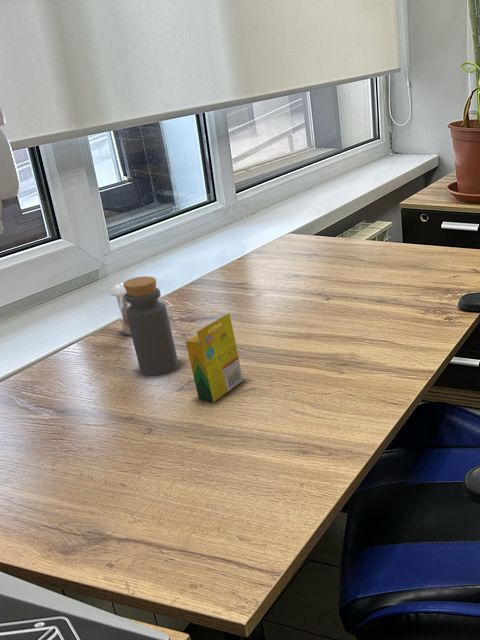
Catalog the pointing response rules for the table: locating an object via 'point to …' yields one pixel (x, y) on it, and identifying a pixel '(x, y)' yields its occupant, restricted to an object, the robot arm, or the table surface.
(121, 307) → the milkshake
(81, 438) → the table surface
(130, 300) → the bottle
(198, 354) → the crayon box
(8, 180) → the robot arm
